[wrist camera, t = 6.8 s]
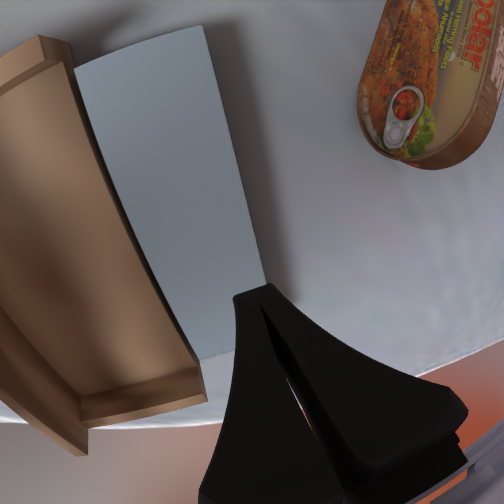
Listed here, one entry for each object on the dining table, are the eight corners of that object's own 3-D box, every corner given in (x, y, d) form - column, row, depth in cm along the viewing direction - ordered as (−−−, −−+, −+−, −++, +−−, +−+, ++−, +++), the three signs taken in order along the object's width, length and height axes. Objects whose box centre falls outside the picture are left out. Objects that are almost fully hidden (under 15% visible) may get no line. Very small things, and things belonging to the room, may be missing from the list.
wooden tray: (79, 387, 24) (76, 456, 18) (-77, 141, 10) (-146, 183, 5) (198, 355, 25) (214, 430, 19) (68, 42, 11) (12, 29, 6)
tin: (401, -51, 12) (499, -67, 5) (433, -26, 13) (529, -29, 6) (338, 134, 18) (435, 183, 11) (375, 149, 19) (470, 202, 13)
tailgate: (199, 360, 22) (278, 335, 23) (73, 68, 11) (202, 24, 11) (196, 344, 24) (272, 320, 24) (82, 68, 12) (199, 28, 13)
